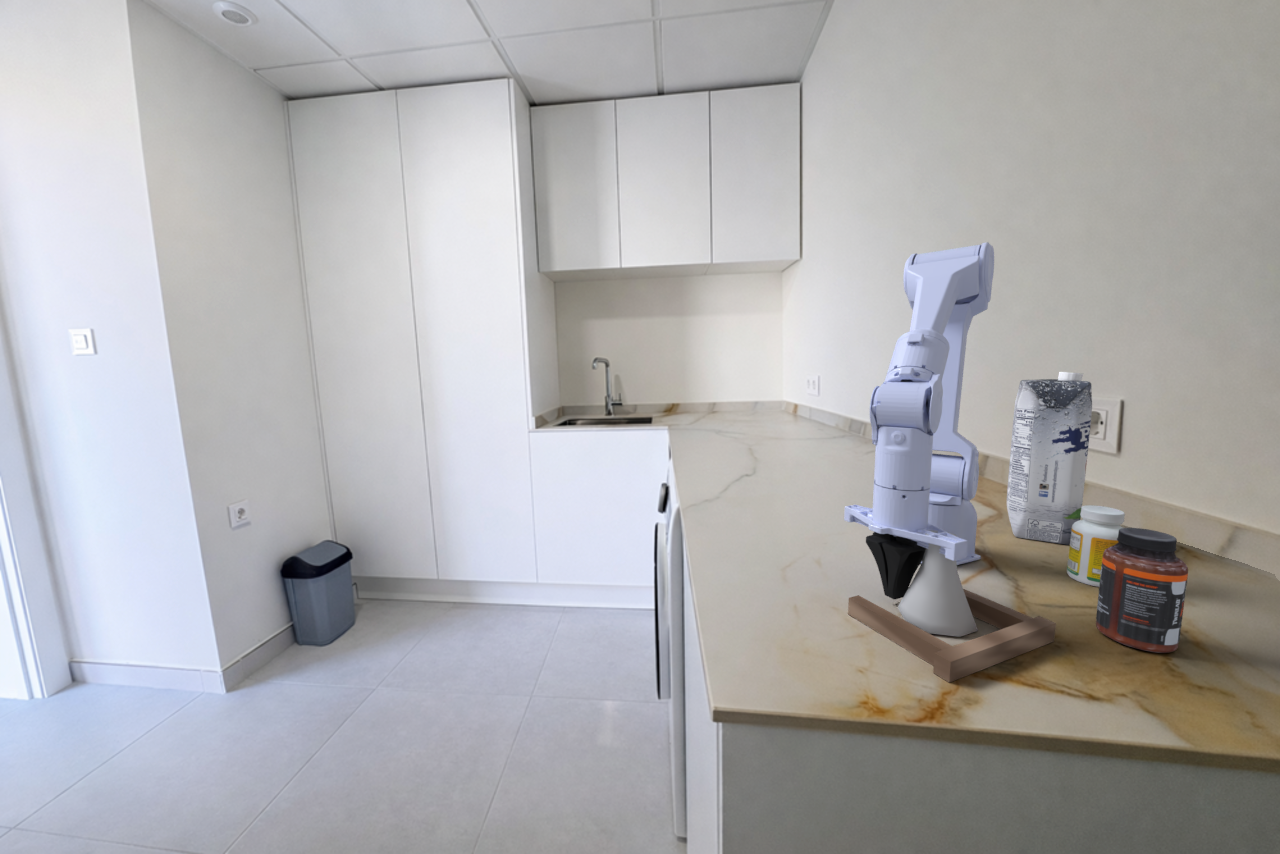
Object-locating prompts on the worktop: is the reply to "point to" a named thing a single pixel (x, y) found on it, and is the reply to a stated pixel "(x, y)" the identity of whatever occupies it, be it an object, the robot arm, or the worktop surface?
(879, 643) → the worktop surface
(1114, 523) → the supplement bottle
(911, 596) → the flask
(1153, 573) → the supplement bottle
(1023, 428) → the juice carton
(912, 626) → the walnut bay
